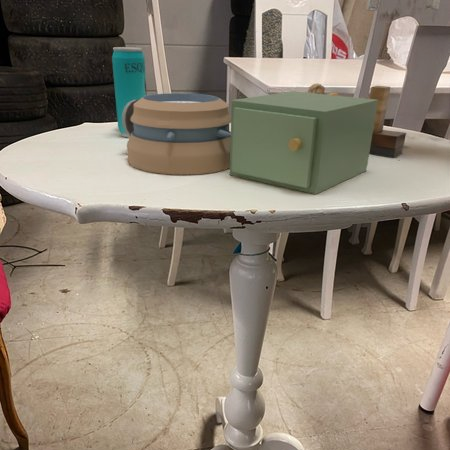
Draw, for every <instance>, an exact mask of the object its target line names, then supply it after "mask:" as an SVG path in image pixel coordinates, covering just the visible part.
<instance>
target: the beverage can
mask: <svg viewBox="0 0 450 450" xmlns="http://www.w3.org/2000/svg"><path fill="white" fill-rule="evenodd" d="M112 50H113V53H112V55H111V62H112V73H113V85H114V97H115V108H116V109H115V110H116V119H117V129H118V130H119V133H120V135H121V136H122V137H123V138H128V139H129V138H130V137H131V136H129V135H128V134H127V133H126V132H125V130H124V128H123V125H122V112H123V109H124V107H125V106H126V105H127V103H128V102H130V101H132V100H140V99H141V98H142V97H144V96H147V95H148V93H147V77H146V76H147V75H146V61H145V60H146V57H145V56H144V54H143V48H142V47H132V46H131V47H130V46H129V47H128V46H115V47H114V46H113V47H112Z"/></svg>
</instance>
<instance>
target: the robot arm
mask: <svg viewBox="0 0 450 450" xmlns="http://www.w3.org/2000/svg"><path fill="white" fill-rule="evenodd" d="M440 3H441V0H426V3H425V10H439V8H440ZM380 4H381V0H366V11H369V12H370V11H371V12H372V11H379V10H380Z"/></svg>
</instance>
